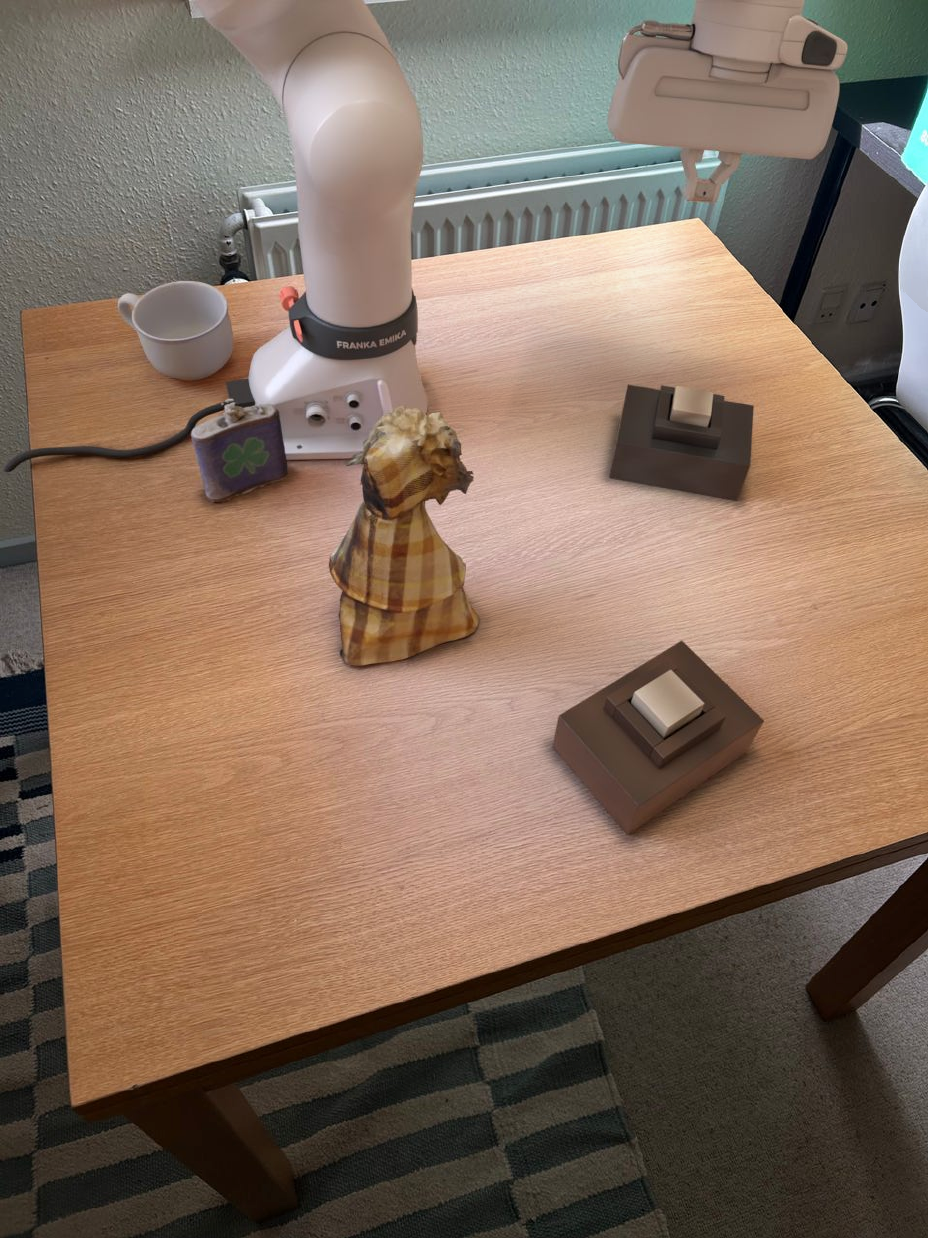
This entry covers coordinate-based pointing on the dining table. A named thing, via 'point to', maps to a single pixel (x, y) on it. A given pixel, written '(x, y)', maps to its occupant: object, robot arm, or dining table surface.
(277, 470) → the flask
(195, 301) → the teacup
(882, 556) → the dining table surface
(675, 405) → the key far
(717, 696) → the push button box
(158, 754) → the dining table surface
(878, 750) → the dining table surface
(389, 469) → the plush toy
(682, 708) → the key near
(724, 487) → the stepped block
